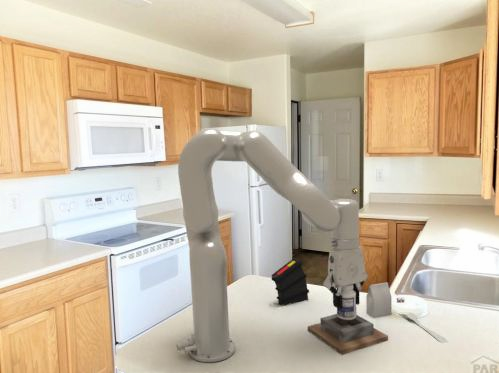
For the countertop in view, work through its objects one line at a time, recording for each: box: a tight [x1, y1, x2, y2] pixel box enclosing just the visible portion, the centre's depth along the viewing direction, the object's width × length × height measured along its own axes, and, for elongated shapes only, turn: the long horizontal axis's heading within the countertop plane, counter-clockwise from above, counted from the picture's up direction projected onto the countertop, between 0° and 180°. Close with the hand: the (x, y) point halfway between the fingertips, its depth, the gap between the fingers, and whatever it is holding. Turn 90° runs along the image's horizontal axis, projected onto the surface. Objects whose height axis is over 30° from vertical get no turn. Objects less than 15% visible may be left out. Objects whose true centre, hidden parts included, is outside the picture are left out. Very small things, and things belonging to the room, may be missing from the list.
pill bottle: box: [336, 284, 357, 320], centre depth 114 cm, size 5×5×10 cm
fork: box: [404, 312, 449, 344], centre depth 118 cm, size 3×21×3 cm, turn 14°
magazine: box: [270, 257, 310, 306], centre depth 140 cm, size 4×13×15 cm, turn 117°
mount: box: [307, 313, 389, 356], centre depth 114 cm, size 16×16×4 cm
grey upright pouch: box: [365, 281, 392, 319], centre depth 127 cm, size 4×7×10 cm, turn 109°
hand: (346, 304), depth 114 cm, fingers closed on pill bottle, 5 cm apart
